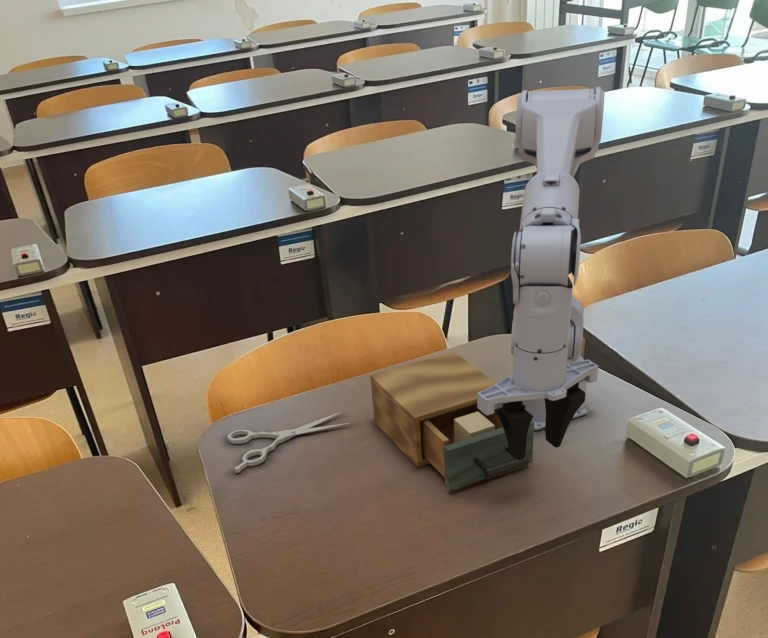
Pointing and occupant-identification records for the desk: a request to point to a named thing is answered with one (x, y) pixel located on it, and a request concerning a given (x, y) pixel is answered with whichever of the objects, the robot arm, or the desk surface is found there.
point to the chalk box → (471, 426)
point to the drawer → (469, 449)
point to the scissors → (279, 436)
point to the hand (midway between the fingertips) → (535, 449)
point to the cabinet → (423, 397)
